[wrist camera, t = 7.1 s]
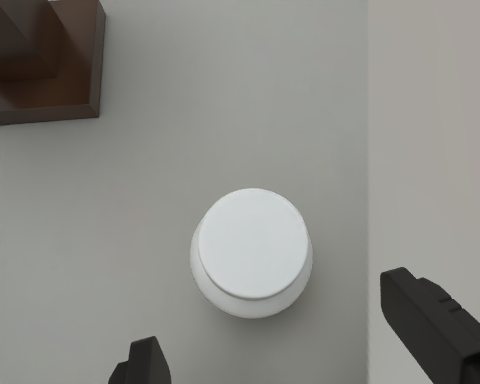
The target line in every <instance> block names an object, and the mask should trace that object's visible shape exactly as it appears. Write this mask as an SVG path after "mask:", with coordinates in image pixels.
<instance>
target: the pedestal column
mask: <svg viewBox="0 0 480 384" xmlns="http://www.w3.org/2000/svg"><path fill="white" fill-rule="evenodd" d="M104 27H105V12H104V10H103V7H102V5H101V3H100V1H99V0H56V1H48V0H0V125H6V124H18V123H30V122H43V121H55V120H67V119H79V118H92V117H98V116H99V101H100V87H101V72H102V57H103V42H104Z"/></svg>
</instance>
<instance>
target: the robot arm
mask: <svg viewBox="0 0 480 384" xmlns="http://www.w3.org/2000/svg"><path fill="white" fill-rule="evenodd" d="M380 286H381V308H382V312H383V314H384V317H385V319H386V320H387V322H388V323H389V325H390V326H391V327H392V329H393V330H394V332H395V333H396V334H397V335H398V337H399V338H400V340H401V341H402V342H403V344H404V345H405V346H406V348H407V349H408V350H409V352H410V353H411V354H412V355H413V357H414V358H415V359H416V361H417V362H418V363H419V365H420V366H421V368H422V369H423V370H424V372H425V373H426V374H427V375H428V377H429V378H430V380H431V381H432V382H433V384H480V323H479V322H478V321H477V320H476V319H475V318H473V317H472V316H471V315H470V314H469V313H468V312H467V311H466V310H465V309H462V307H461V305H460V304H459V303H457V302H456V301H455V300H454V299H452V298H451V296H450V295H449V294H448V293H447V292H446V291H445V290H444V289H442V288H441V287H440V286H439V285H437V284H435V283H433V282H431V281H429V280H427V279H425V278H420V279H416V278H415V277H414V276H413V275H412V274H411V273H410V272H409V271H408V270H407V269H406V268H404V267H400V268H397V269H393V270H389V271H386V272H383V273H381V275H380ZM108 384H171V375H170V370H169V367H168V364H167V362H166V359H165V357H164V355H163V352H162V350H161V348H160V345H159V343H158V340H157V338H156V337H155V336H152V337H148V338H145V339H141V340H138V341H134V342H132V343H131V346H130V352H129V359H128V361H125V362H122V363H118V365H117V366H116V368H115V370H114V372H113V373H112V375H111V377H110V379H109V382H108Z"/></svg>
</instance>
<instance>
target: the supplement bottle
mask: <svg viewBox="0 0 480 384" xmlns="http://www.w3.org/2000/svg"><path fill="white" fill-rule="evenodd" d="M190 265H191V270H192V274H193V277H194V280H195V282H196V284H197V286H198V288H199V289H200V291H201V292H202V294H203V295H204V296H205V297H206V298H207V299H208V300H209V301H210V302H211V303H212V304H213V305H214V306H216V307H217V308H219V309H220V310H222V311H224V312H226V313H228V314H230V315H233V316H236V317H241V318H251V319H253V318H263V317H267V316H271V315H274V314H276V313H278V312H280V311H282V310H284V309H286V308H287V307H288V306H290V305H291V304H292V303H293V302H294V301H295V300H296V299H297V298H298V297H299V296H300V294H301V293H302V292H303V290H304V289H305V287H306V285H307V283H308V280H309V278H310V275H311V271H312V265H313V249H312V243H311V239H310V236H309V234H308V231H307V228H306V225H305V222H304V220H303V218H302V216H301V215H300V213H299V211H298V210H297V209H296V208H295V207H294V206H293V204H291V203H290V202H289V201H288V200H287V199H285V198H284V197H282V196H281V195H279V194H277V193H274V192H272V191H268V190H265V189H259V188H247V189H241V190H237V191H234V192H231V193H229V194H227V195H225V196H223V197H222V198H221V199H219V200H218V201H217V202H216V203H215V204H214V205H213V206H212V207H211V208H210V209H209V210H208V212H207V213H206V215H205V216H204V217H203V219H202V220H201V221H200V223H199V225H198V226H197V228H196V230H195V233H194V235H193V238H192V242H191V248H190Z"/></svg>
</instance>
